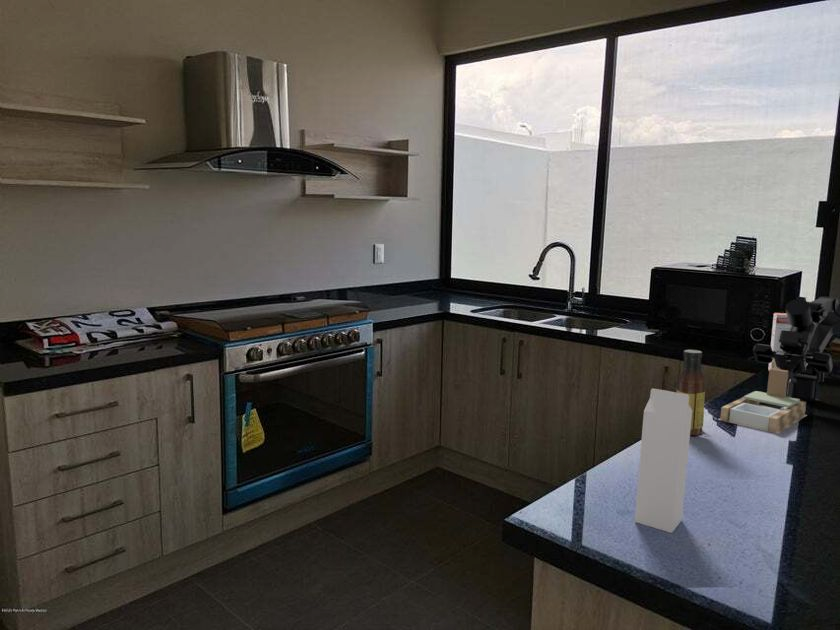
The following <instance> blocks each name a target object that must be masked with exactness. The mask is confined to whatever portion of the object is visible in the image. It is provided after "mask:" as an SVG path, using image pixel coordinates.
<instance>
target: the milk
mask: <svg viewBox="0 0 840 630" xmlns="http://www.w3.org/2000/svg"><path fill="white" fill-rule="evenodd" d="M691 418H692V409H691V408H690V406H689V395H687V394H682V393H677V391H676V392H674V391H671V390H666V389H665V390H664V389H658V388H651V389H650V394H649V400H648V401H647V403H646V405H645V408H644V410H643V419H642V428H641V429H642V430H641V440H640V441H641V443H640V452H639V453H640V454H639V466H638V478H637V479H638V480H637V487H636V488H637V491H636V500H635V501H636V502H635V503H636V504H635V514H634V515H635V517H634V523H636V524H641V525H643V526H646V527H650V528H653V529H656V530H660V531H664V532H666V533H671V534H673V532H674V531H676V529H677V528H678V526H679V525H680V523H681V522H682V521H683V520H682V519H683V513H684V511H683V510H684V503H685V502H684V501H685V492H686V491H685V490H686V480H687V471H688V470H687V469H688V459H689V449H690V448H689V447H690V436H691V435H690V429H691Z"/></svg>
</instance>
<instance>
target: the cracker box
mask: <svg viewBox="0 0 840 630" xmlns="http://www.w3.org/2000/svg"><path fill="white" fill-rule="evenodd" d="M813 323H814V322H813ZM814 324H815V323H814ZM791 326H792V325H790V324H789V321H788V317H787V313H786V312H785V313H784V312H782V313H781V312H774V313H773V317H772V327H771V338H770V339H771V341H770V345H771V348H772V351H777V350H782V349H780V344H781V343H780V342H779V338H780V334H781V330H786V331H790V329H791ZM771 368H775V369H780V368H778V367H777V366H776V363H775V359H773V360H772V362H771V363H769V364H768V368H767V369H768V371H769V370H770V369H771Z"/></svg>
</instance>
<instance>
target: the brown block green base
mask: <svg viewBox="0 0 840 630" xmlns="http://www.w3.org/2000/svg"><path fill="white" fill-rule="evenodd" d="M768 372H769V373H768V378H767V379H768V381H767V389H766V390H767V391H766V392H763V391H757V390H755V391H752V392H750V393H747V394H746V395H744V396H743V397H744V399H749V400H754V401H758V402H760V403H764V404H768V405H774V406H779V407H782V408H783V407H784V408H789V407H791V406H793V405H795V404H796V403H798V402H800V399H795V398H790V397H788V396H786V394H787V390H788V381H789V380H788V372H789V371H787V370H781V369H775V368H771V369H770V370H768ZM787 380H788V381H787Z"/></svg>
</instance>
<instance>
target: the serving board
mask: <svg viewBox="0 0 840 630" xmlns="http://www.w3.org/2000/svg"><path fill="white" fill-rule="evenodd" d="M742 403H747V404H752V405H757V406H762V407H767V408H772V409H776V410H781V412H779V413H777V414H776V415H774V416H772V417H770V422H769V430H765V429H761V428H757V427H752V426H748V425H744V424H739V423H735V422H731V421H729V418H730V409H731V408H733V407H735V406H738V405H740V404H742ZM760 403H761V402H758V401H754V400H749V399H744V396H742V397H741V398H739V399H736V400H734V401H732V402H730V403H728V404H725V405H723V406H721V408H720V409H721V410H720V416H719V417H720V418H717V420H718V421H720V422H721V421H722V422H725V423H730V424H733V425H740V426H741V427H742V426H743V427H748V428H751V429H755V430H760V431H765V432H769V433H773V434H778V435H779V434H780V433H782V432H783V431H785V430H786V429H788V428H790V427H792V426H793V425H794V424H796V423H798V422H800V421H801V420H803V419H804V418H805V417H807V416H808V414H805V413H806V407H807V401H800V402H798V403H796V404H795V405H793V406H791V407H789V408H788V407H785V409H781V408H775V407H771V406H767V405H763V404H762V405H761V404H760Z"/></svg>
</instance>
